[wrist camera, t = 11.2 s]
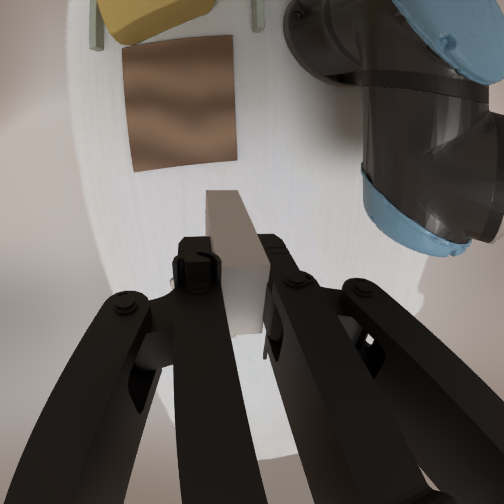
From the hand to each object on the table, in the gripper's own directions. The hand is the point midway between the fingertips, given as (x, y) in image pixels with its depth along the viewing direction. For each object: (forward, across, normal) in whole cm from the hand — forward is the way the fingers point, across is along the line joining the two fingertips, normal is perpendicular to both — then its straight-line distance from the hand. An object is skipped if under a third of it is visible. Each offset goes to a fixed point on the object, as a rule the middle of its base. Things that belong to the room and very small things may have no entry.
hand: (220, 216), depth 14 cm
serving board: (+24, -3, +5) cm, 24 cm away
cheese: (+24, -7, +19) cm, 31 cm away
